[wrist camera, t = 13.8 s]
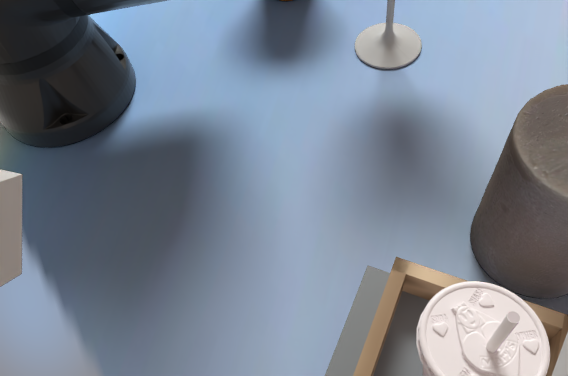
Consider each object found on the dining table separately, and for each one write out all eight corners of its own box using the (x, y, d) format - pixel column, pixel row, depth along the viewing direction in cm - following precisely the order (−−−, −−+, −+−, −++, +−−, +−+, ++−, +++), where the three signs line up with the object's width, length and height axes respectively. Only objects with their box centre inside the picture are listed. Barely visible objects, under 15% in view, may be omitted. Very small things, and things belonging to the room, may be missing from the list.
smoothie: (443, 459, 31) (497, 414, 20) (383, 367, 35) (399, 282, 23) (525, 404, 32) (621, 332, 21) (459, 320, 36) (510, 218, 24)
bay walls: (340, 420, 33) (340, 411, 31) (393, 274, 38) (396, 256, 36) (536, 509, 29) (553, 508, 27) (565, 334, 35) (581, 319, 32)
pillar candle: (470, 187, 45) (515, 61, 33) (591, 200, 43) (688, 71, 31) (468, 290, 40) (519, 188, 28) (604, 310, 38) (726, 210, 26)
